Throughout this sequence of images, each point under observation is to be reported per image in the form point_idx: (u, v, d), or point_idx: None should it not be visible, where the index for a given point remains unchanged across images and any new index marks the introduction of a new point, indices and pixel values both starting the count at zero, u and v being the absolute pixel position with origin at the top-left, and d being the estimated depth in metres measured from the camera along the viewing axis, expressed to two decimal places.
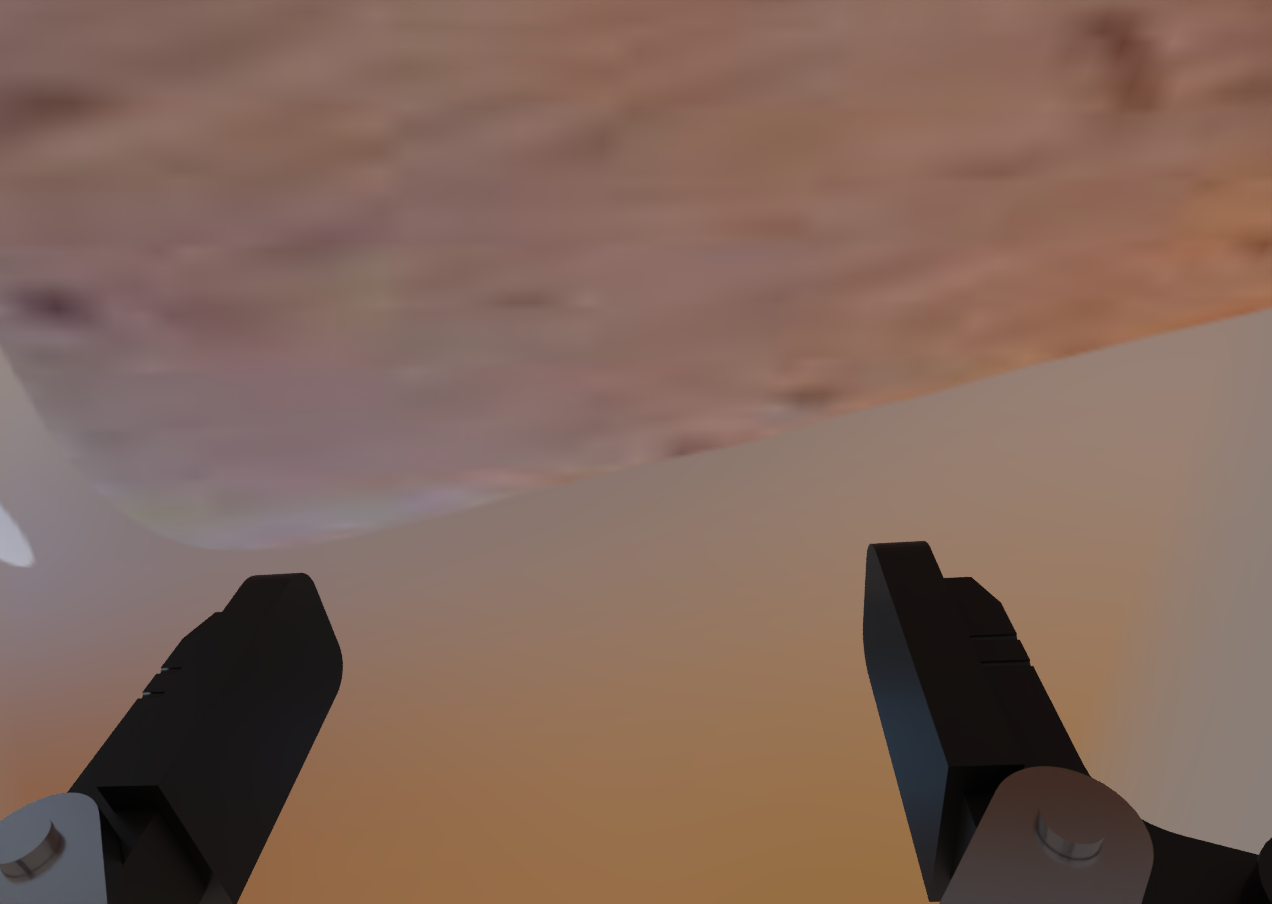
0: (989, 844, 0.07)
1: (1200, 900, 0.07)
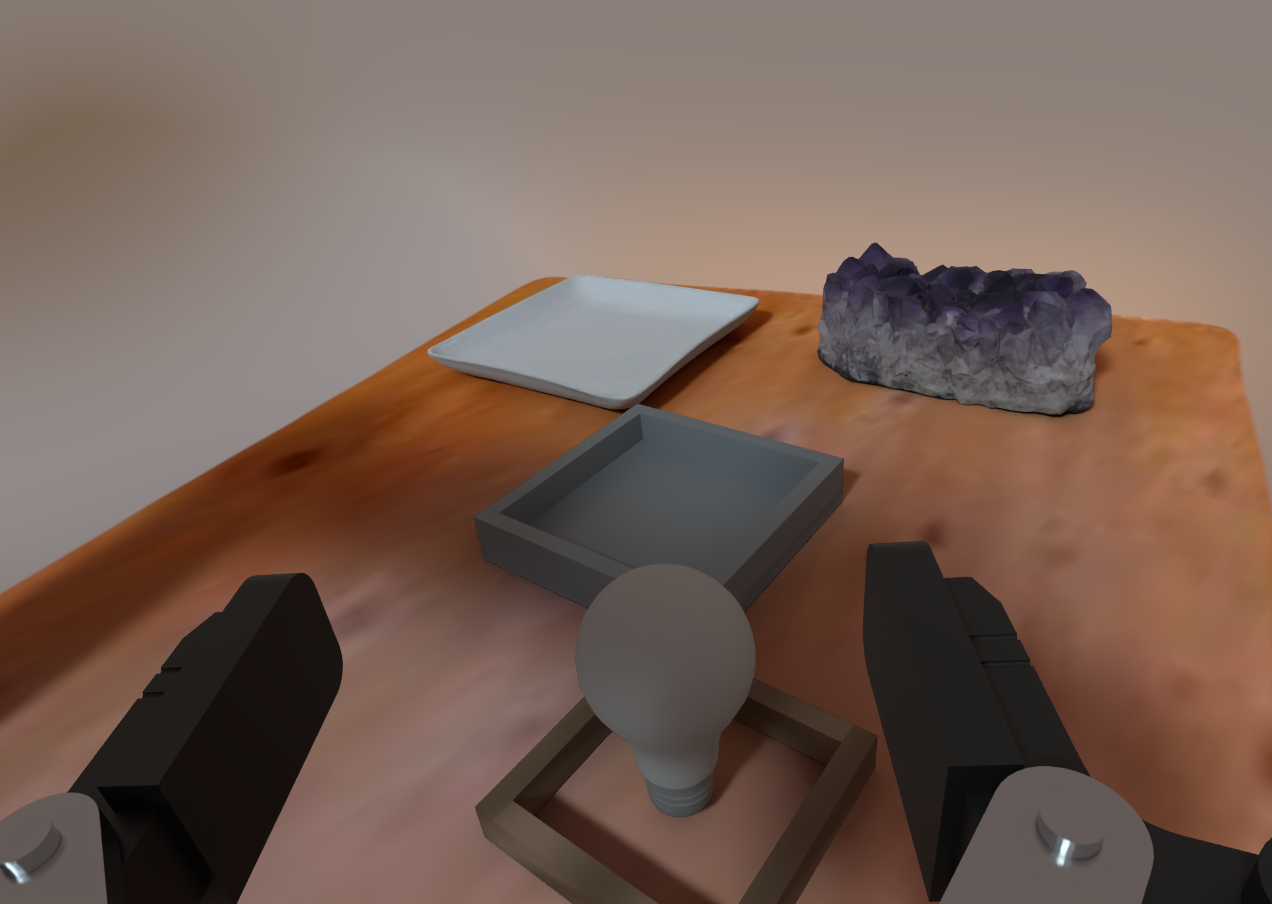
0: (989, 843, 0.07)
1: (1200, 900, 0.07)
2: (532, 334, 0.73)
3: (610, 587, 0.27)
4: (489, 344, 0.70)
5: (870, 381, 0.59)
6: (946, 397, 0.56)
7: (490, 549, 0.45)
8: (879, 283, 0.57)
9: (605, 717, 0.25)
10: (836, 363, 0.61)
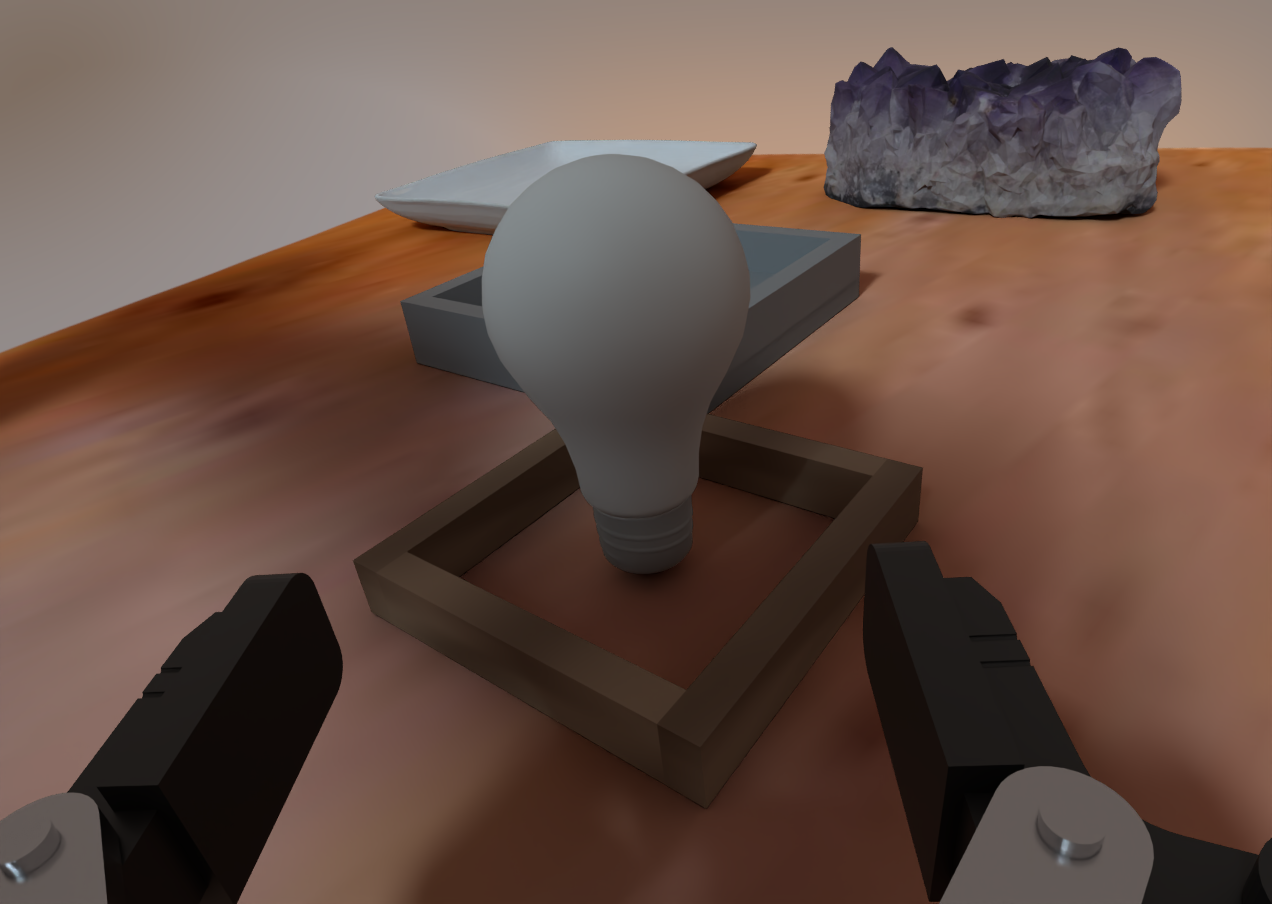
0: (989, 844, 0.07)
1: (1200, 900, 0.07)
2: (498, 192, 0.64)
3: None
4: (449, 197, 0.62)
5: (886, 203, 0.50)
6: (977, 211, 0.47)
7: (422, 345, 0.36)
8: (897, 81, 0.48)
9: (520, 355, 0.17)
10: (846, 191, 0.53)
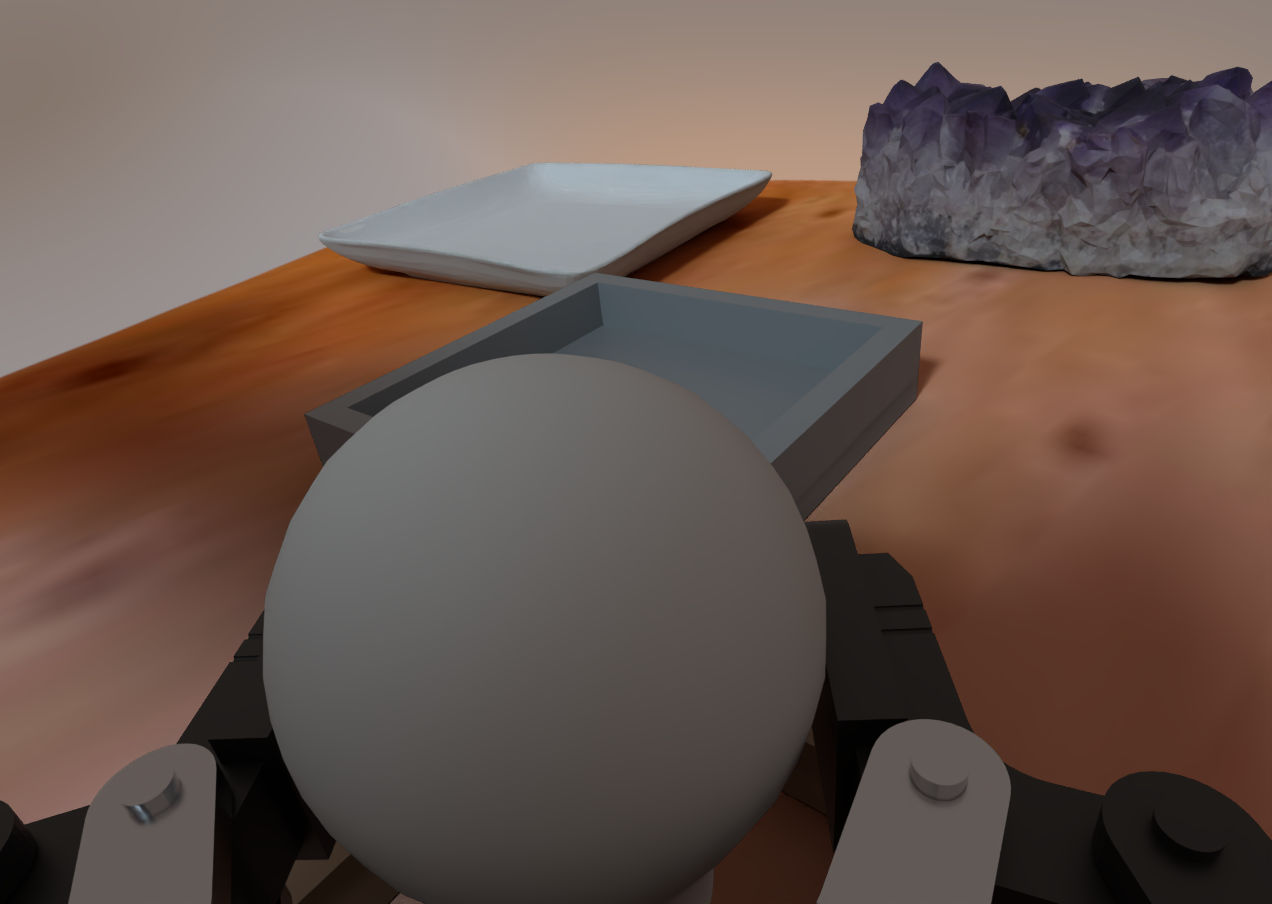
0: (863, 787, 0.07)
1: (1055, 838, 0.07)
2: (469, 226, 0.55)
3: None
4: (409, 235, 0.52)
5: (933, 253, 0.41)
6: (1049, 267, 0.38)
7: None
8: (949, 105, 0.39)
9: (325, 828, 0.07)
10: (881, 236, 0.44)
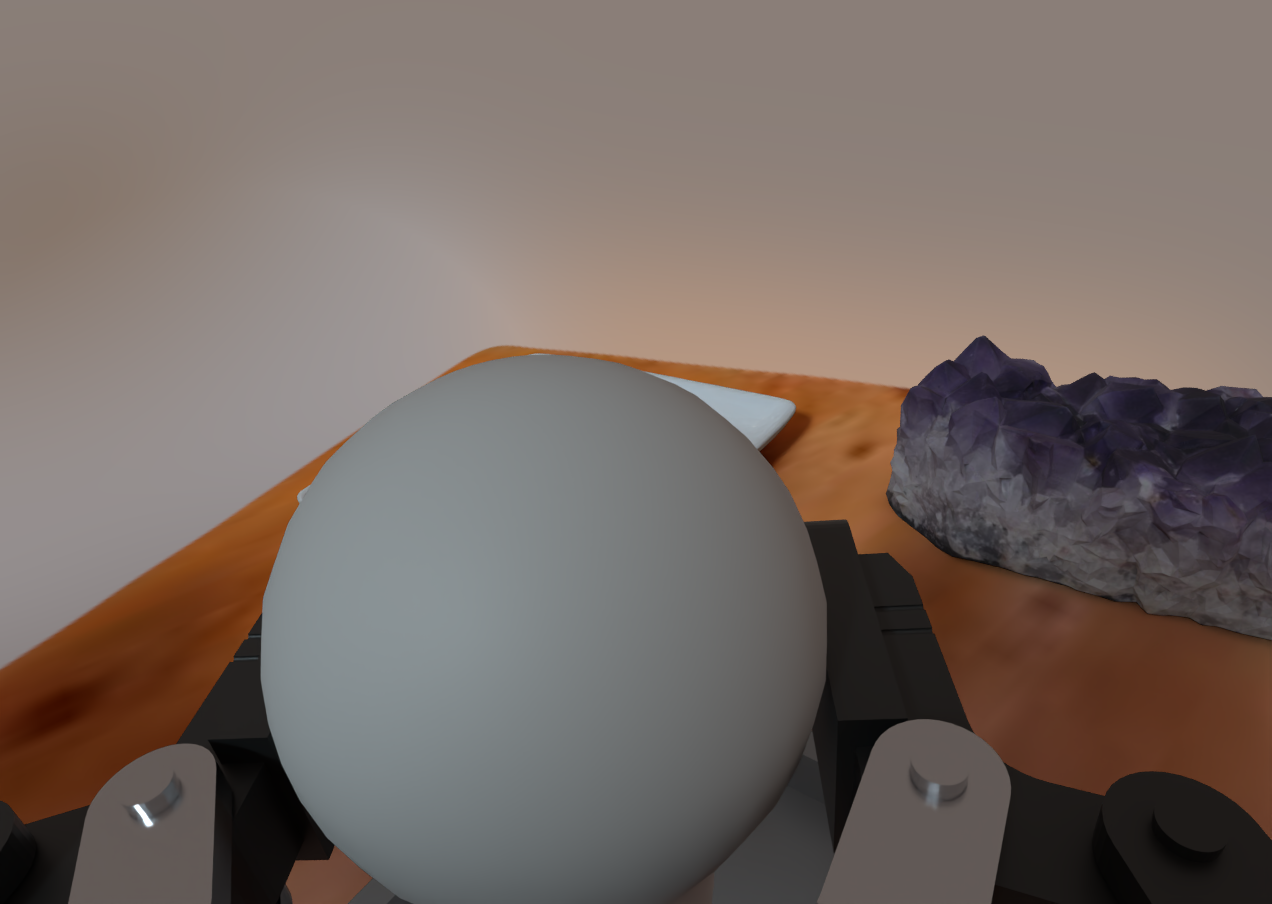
0: (864, 787, 0.07)
1: (1055, 838, 0.07)
2: None
3: None
4: None
5: (985, 561, 0.37)
6: (1121, 599, 0.34)
7: None
8: (1004, 411, 0.35)
9: (323, 831, 0.07)
10: (922, 521, 0.39)
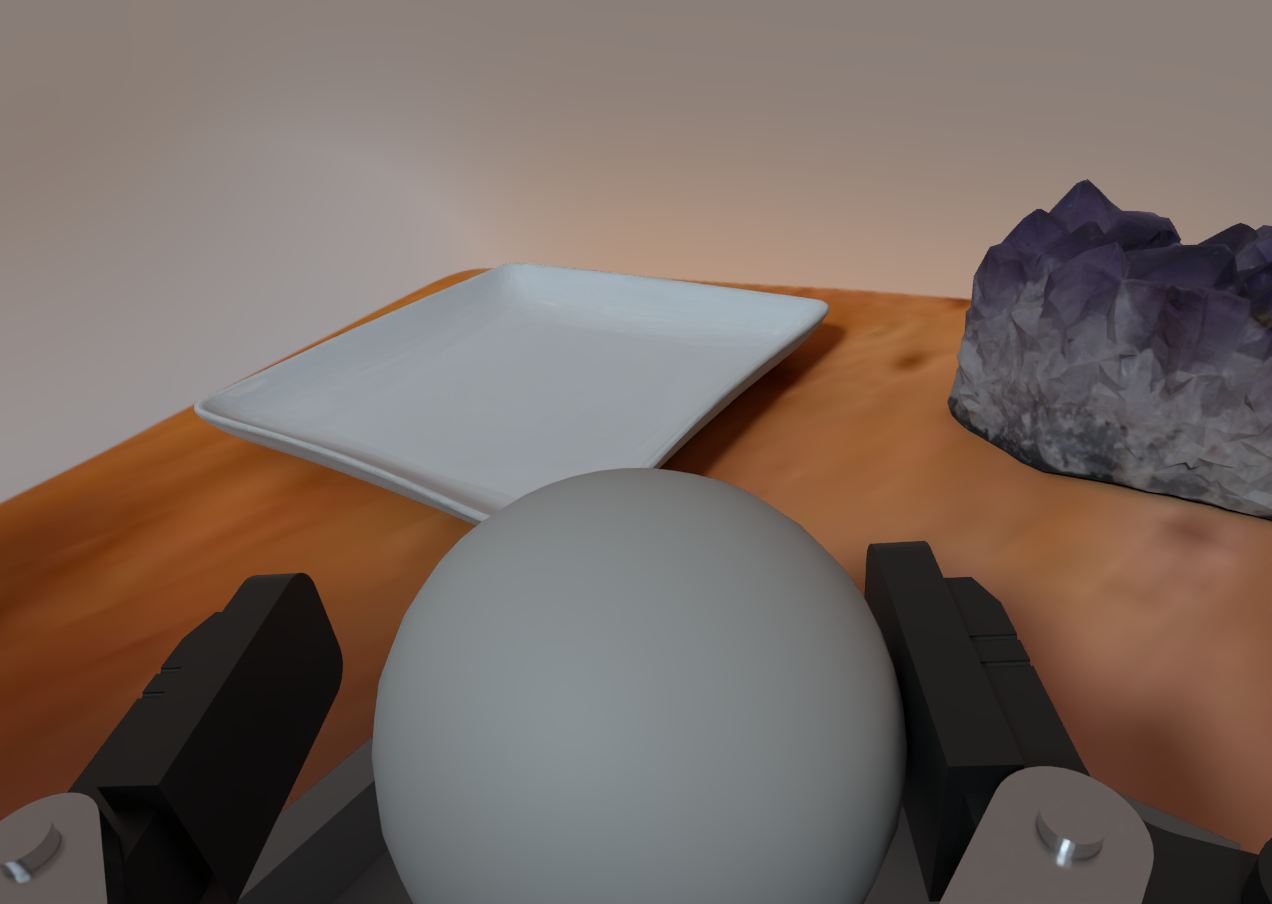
0: (989, 843, 0.07)
1: (1200, 899, 0.07)
2: (416, 367, 0.41)
3: (471, 533, 0.09)
4: (332, 387, 0.38)
5: (1092, 475, 0.27)
6: None
7: None
8: (1127, 262, 0.25)
9: None
10: (1001, 430, 0.30)
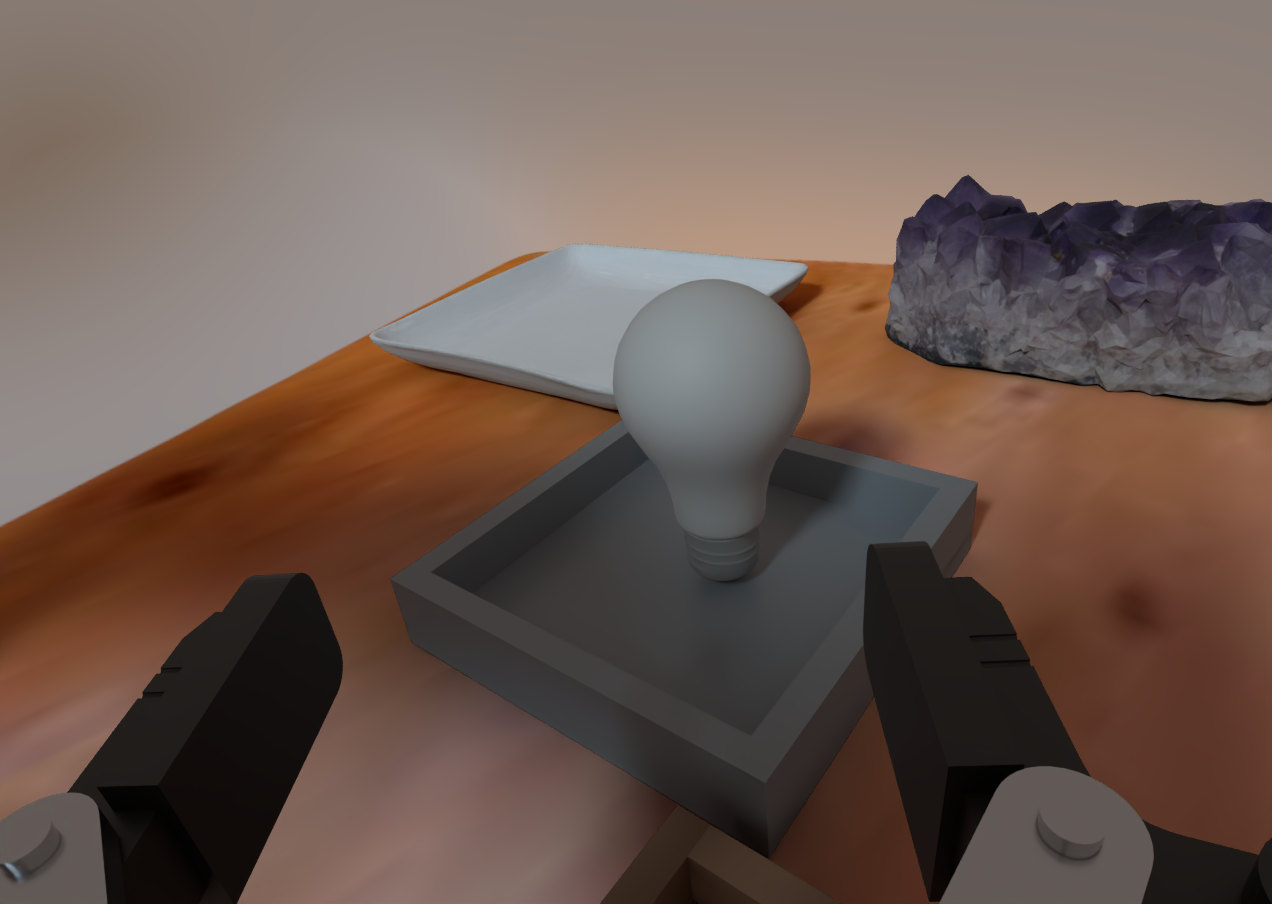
0: (989, 844, 0.07)
1: (1200, 900, 0.07)
2: (511, 316, 0.56)
3: (651, 300, 0.24)
4: (455, 328, 0.54)
5: (970, 363, 0.43)
6: (1085, 382, 0.40)
7: (418, 629, 0.28)
8: (984, 225, 0.41)
9: (646, 429, 0.23)
10: (916, 341, 0.45)
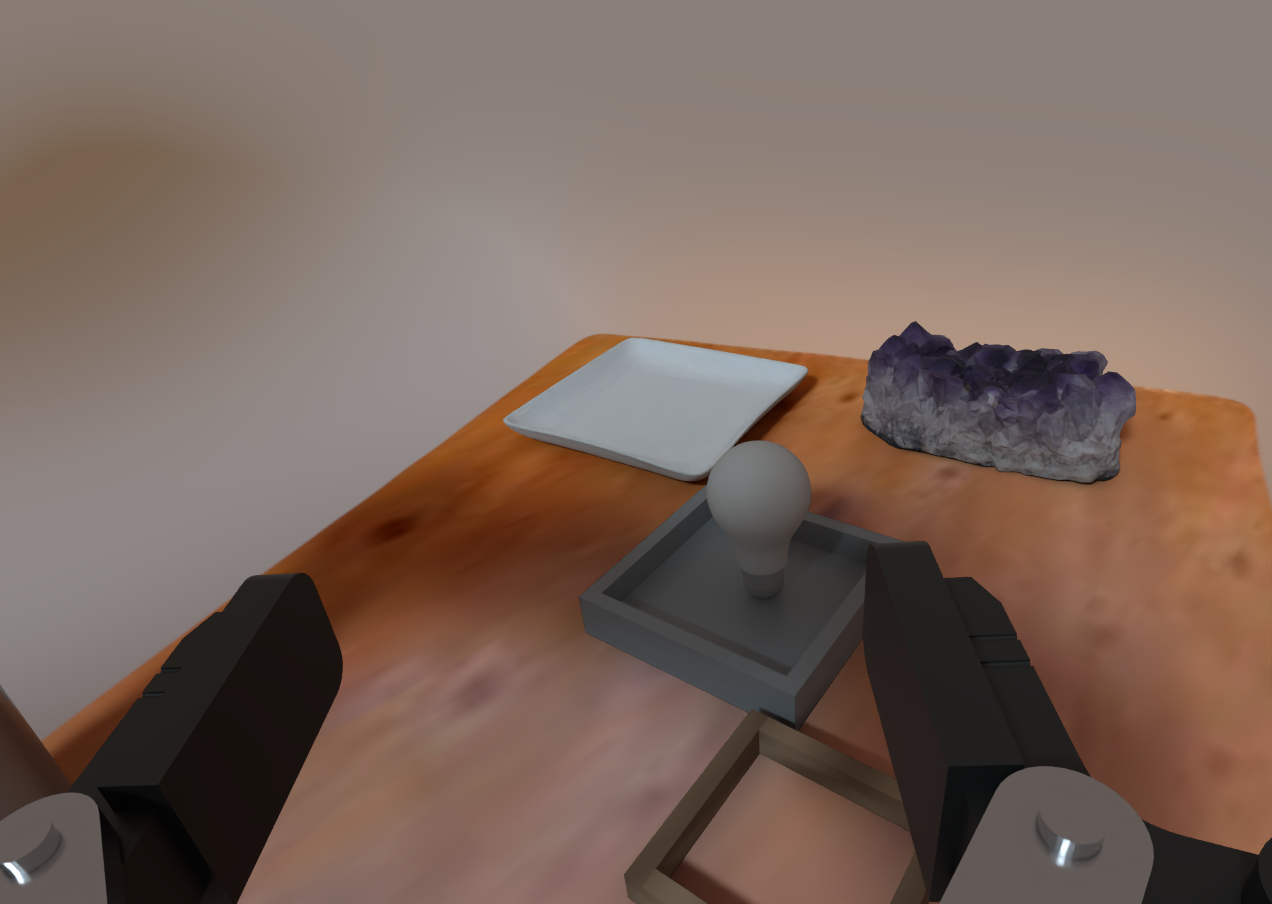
0: (989, 844, 0.07)
1: (1200, 900, 0.07)
2: (594, 399, 0.78)
3: (727, 452, 0.47)
4: (557, 410, 0.76)
5: (914, 448, 0.65)
6: (985, 464, 0.62)
7: (592, 625, 0.50)
8: (923, 362, 0.63)
9: (728, 522, 0.45)
10: (880, 430, 0.68)
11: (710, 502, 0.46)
